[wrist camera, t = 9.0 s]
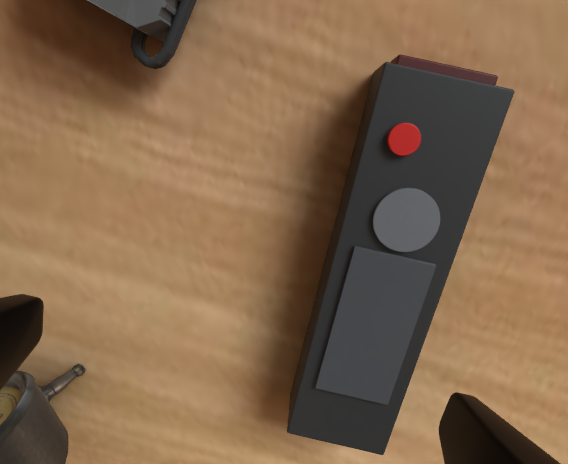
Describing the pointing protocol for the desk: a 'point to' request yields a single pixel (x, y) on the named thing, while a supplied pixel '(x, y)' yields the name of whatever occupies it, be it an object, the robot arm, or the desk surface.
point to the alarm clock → (32, 420)
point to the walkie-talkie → (152, 24)
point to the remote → (393, 245)
